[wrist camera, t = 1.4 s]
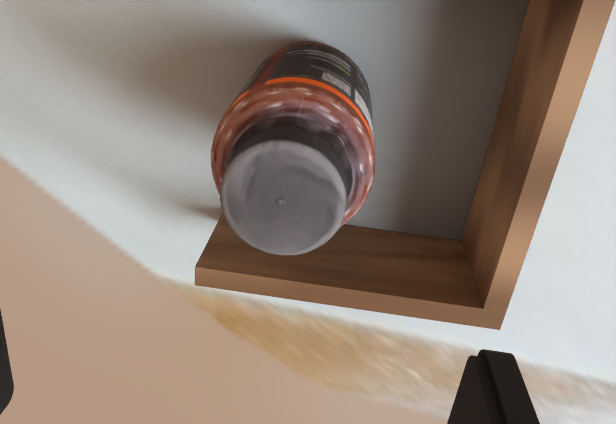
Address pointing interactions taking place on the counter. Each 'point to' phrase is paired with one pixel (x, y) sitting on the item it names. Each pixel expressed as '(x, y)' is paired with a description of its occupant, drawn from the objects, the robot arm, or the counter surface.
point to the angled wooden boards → (484, 211)
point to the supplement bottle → (295, 150)
